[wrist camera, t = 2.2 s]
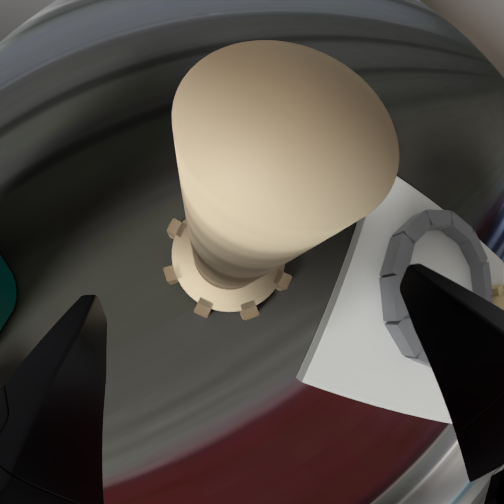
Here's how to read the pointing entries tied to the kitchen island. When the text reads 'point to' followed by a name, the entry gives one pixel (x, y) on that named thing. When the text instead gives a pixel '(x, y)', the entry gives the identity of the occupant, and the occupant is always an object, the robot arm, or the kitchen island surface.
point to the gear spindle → (270, 167)
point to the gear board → (359, 316)
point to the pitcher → (6, 292)
